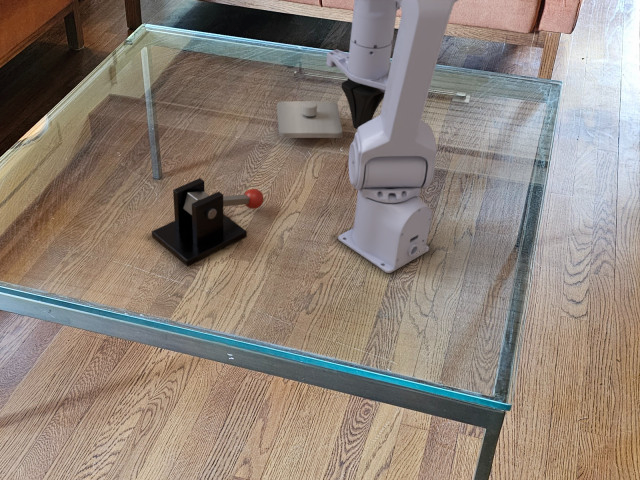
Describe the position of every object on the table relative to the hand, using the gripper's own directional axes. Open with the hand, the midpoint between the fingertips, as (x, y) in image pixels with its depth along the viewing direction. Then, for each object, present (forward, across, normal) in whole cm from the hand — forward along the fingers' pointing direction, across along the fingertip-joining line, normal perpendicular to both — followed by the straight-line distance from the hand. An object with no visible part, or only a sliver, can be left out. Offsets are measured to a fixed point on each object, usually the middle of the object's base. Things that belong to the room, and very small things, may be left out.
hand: (361, 127), depth 123 cm
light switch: (+6, +11, 0) cm, 13 cm away
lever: (+3, 0, +26) cm, 26 cm away
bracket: (+6, 0, +30) cm, 31 cm away
